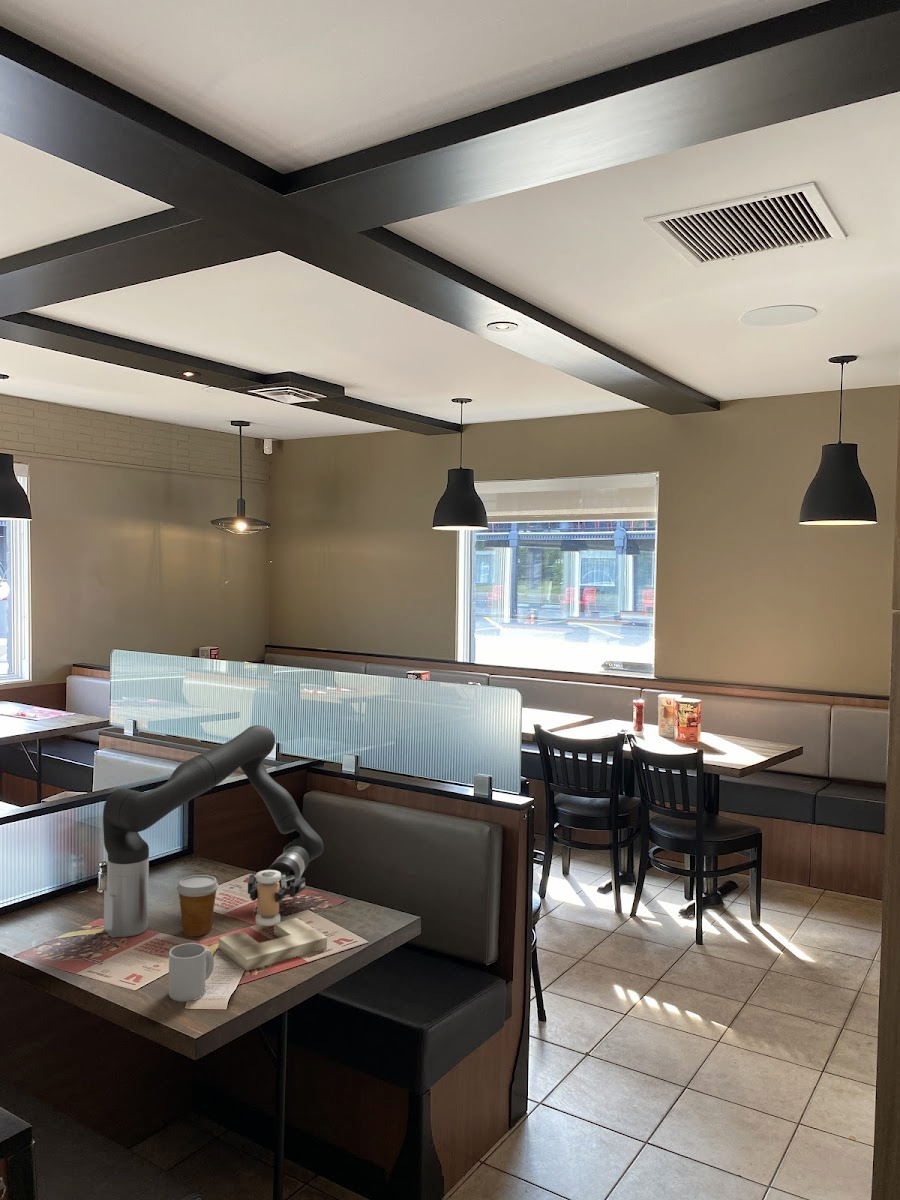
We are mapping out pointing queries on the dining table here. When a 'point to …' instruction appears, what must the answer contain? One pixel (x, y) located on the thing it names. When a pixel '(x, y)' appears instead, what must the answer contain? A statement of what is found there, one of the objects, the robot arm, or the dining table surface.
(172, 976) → the cup
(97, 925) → the dining table surface
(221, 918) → the dining table surface
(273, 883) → the bobbin
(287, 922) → the notched board
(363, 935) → the dining table surface
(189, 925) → the disposable coffee cup
